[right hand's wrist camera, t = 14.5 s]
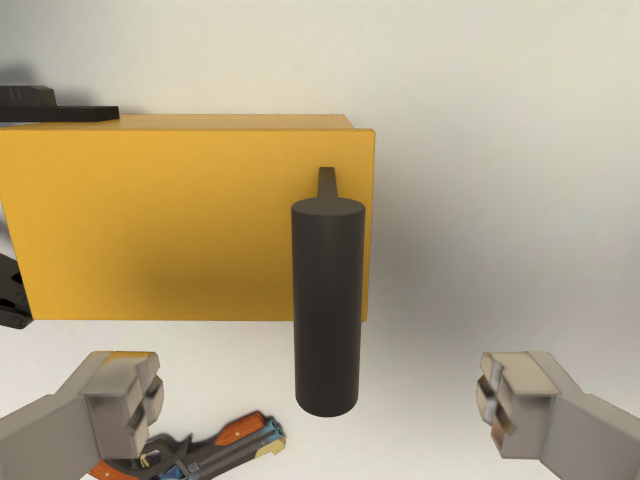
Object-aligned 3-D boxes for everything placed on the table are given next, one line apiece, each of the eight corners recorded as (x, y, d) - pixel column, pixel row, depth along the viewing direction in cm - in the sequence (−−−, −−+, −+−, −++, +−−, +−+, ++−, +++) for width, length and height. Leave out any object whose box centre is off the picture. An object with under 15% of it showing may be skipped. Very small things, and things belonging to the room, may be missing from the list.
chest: (344, 114, 30) (355, 128, 19) (341, 242, 33) (349, 311, 23) (110, 114, 30) (-2, 127, 20) (131, 241, 33) (45, 310, 23)
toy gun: (56, 461, 38) (119, 539, 40) (229, 369, 36) (288, 455, 38) (73, 441, 41) (132, 515, 43) (236, 354, 39) (290, 435, 40)
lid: (373, 128, 19) (413, 161, 11) (365, 312, 23) (390, 453, 14) (-3, 127, 20) (-271, 160, 11) (44, 310, 23) (-129, 448, 14)
